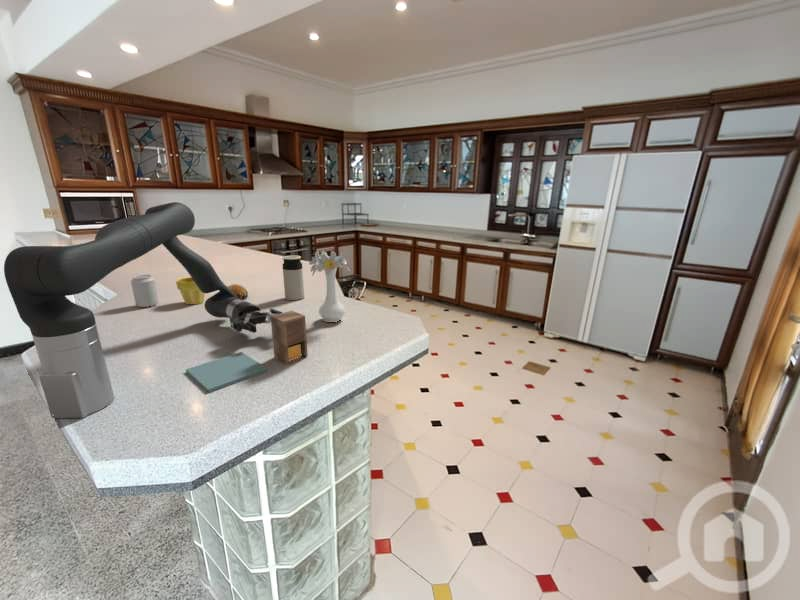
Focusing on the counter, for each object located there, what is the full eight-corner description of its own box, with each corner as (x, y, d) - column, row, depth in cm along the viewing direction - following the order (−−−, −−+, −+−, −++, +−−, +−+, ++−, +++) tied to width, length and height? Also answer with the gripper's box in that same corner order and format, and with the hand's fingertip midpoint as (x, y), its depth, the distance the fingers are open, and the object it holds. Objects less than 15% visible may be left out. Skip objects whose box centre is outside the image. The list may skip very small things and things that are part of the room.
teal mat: (267, 371, 89) (266, 368, 88) (208, 392, 79) (208, 389, 78) (241, 354, 97) (241, 351, 97) (186, 372, 87) (185, 369, 87)
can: (147, 309, 134) (141, 278, 131) (131, 307, 136) (124, 277, 132) (163, 303, 141) (158, 274, 138) (148, 302, 143) (142, 273, 139)
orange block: (301, 357, 97) (300, 343, 96) (288, 361, 94) (287, 348, 93) (293, 352, 99) (292, 339, 98) (280, 357, 96) (279, 344, 95)
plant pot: (181, 300, 146) (177, 277, 143) (209, 297, 150) (206, 275, 147) (178, 307, 137) (174, 283, 134) (208, 304, 141) (204, 280, 138)
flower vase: (337, 310, 136) (334, 245, 129) (358, 324, 122) (357, 252, 115) (304, 315, 130) (300, 248, 122) (323, 331, 115) (319, 255, 108)
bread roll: (244, 302, 156) (238, 285, 156) (254, 297, 149) (248, 279, 149) (222, 307, 149) (216, 289, 149) (231, 302, 142) (225, 283, 142)
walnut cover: (307, 356, 97) (305, 315, 93) (287, 364, 92) (283, 321, 89) (294, 349, 101) (291, 310, 97) (274, 357, 96) (270, 315, 93)
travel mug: (305, 299, 149) (302, 257, 144) (286, 301, 146) (282, 258, 141) (303, 295, 156) (300, 254, 151) (284, 296, 153) (281, 255, 148)
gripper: (218, 306, 105) (243, 319, 95) (263, 297, 116) (290, 307, 105) (221, 329, 108) (246, 344, 97) (265, 318, 118) (292, 330, 108)
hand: (269, 325), depth 101 cm, fingers open, 8 cm apart
